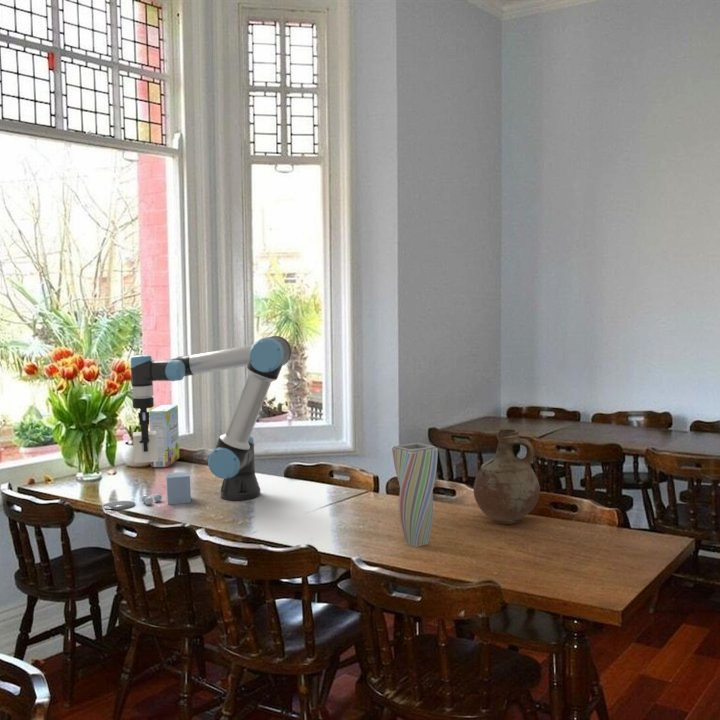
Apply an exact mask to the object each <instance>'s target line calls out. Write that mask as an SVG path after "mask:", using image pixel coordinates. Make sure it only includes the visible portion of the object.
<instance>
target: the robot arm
mask: <svg viewBox="0 0 720 720" xmlns="http://www.w3.org/2000/svg"><path fill="white" fill-rule="evenodd" d="M291 357H292V345H291V344H290V342H289V341H288V340H287V338H284V337H282V336H279V335H273V336H269V337H268V336H267V337H263V338H260V339H258V340H257V341H255V342H254V343H253V344H250V345H243V346H242V345H241V346H238V347H233V348H225V349H220V350H214V351H208V352H202V353H196V354H191V355H182V356H177V357H175V358H170V359H165V360H162V359H161V360H155V359H154V360H153V358H152V356H151V355H149V354H139V355H138V354H135V355H133V356H131V358H130V375H131V376H130V377H131V379H130V380H131V388H130V389H129V391H130V392H131V393H132V397H133V398H132V408H133V409H135V410H139V409H140V410H139V412H138V413H137V414H138V416H137V418H138V419H139V420H138V421H139V422H138V423H139V426H140V430H141V431H140V432H141V435H142V440H141V441H140V443H141V444H142V461H144V460H150V450H149V437H148V431H149V426H150V411H148V409H151V408H153V407H154V406H155V403H154V401H155V400H154V397H153V396H154V384H153V383H154V382H157V381H158V382H159V381H160V382H164V381H165V382H168V381H169V382H176V381H182V380H183V379H184V377H189V376H195V375H201V374H208V373H213V372H218V371H224V370H231V369H232V370H233V369H237V368H238V369H239V368H244V367H246V370H247V372H248V376H247V377H246V379H245V382H244V385H243V388H242V390H241V392H240V395H239V398H238V401H237V403H236V406H235V408H234V411H233V413H232V416H231V418H230V421H229V424H228V426H227V429H226V432H225V433H224V434H223V433H222V434H220V436H219V438H218V439H217V442H216V446H215V448H214V449H213V450H212V451H211V453H210V454H209V456H208V458H207V465H208V468H209V470H210V471H211V473H212V474H213V475H214V476H215V477H217V478H219V479H222V484H221V488H220V492H219V493H220V498H221V499H224V500H228V501H229V500H230V501H242V500H243V501H244V500H251V499H254V498H258V497H259V496H260V495H261V487H260V485H259V481H258V478H257V477H256V469H255V466H256V465H255V463H256V460H255V442H254V441H255V440H254V437H253V436H251V435H252V432H253V429H254V428H255V424H256V422H257V419H258V418H259V414H260V411H261V409H262V407H263V405H264V401H265V400H266V397H267V394H268V391H269V389H270V386H271V383H272V382H275V381H277V380H278V378H279V376H280V372H281V370H282V367H283V366H285V365H287V363H288V362H289V361H290V359H291ZM144 438H146V439H144Z"/></svg>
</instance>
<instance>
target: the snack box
mask: <svg viewBox="0 0 720 720" xmlns="http://www.w3.org/2000/svg"><path fill="white" fill-rule="evenodd" d="M149 431H156V434H157V452H158V461H155V462H150V467H151V468H168V467H170V466H171V465H172V464H174V463H175V462H176V461H177V460H179V459H180V443H179V442H180V438H179V435H180V434H179V406H178V404H161V405H159V406H157V407H155V408H153V409H151V410H149Z"/></svg>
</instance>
